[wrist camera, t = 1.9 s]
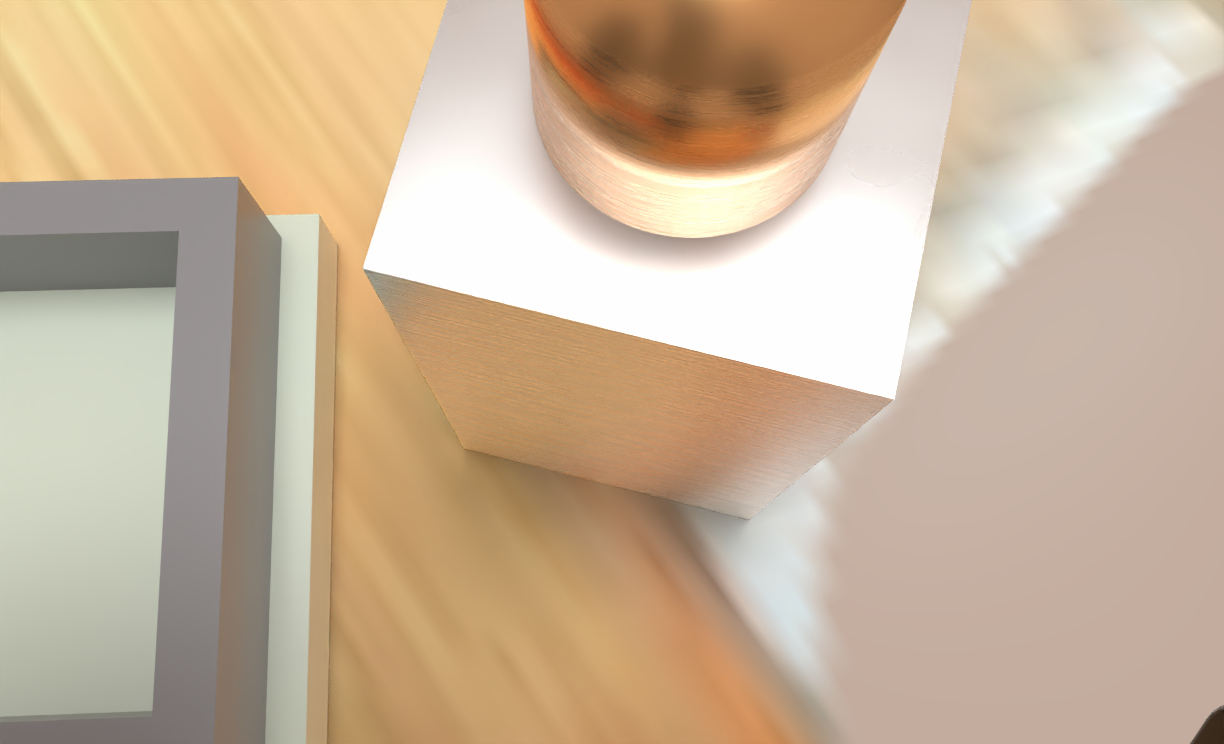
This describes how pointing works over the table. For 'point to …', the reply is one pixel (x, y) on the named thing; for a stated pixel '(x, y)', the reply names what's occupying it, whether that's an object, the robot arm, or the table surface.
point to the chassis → (164, 464)
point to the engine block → (668, 230)
